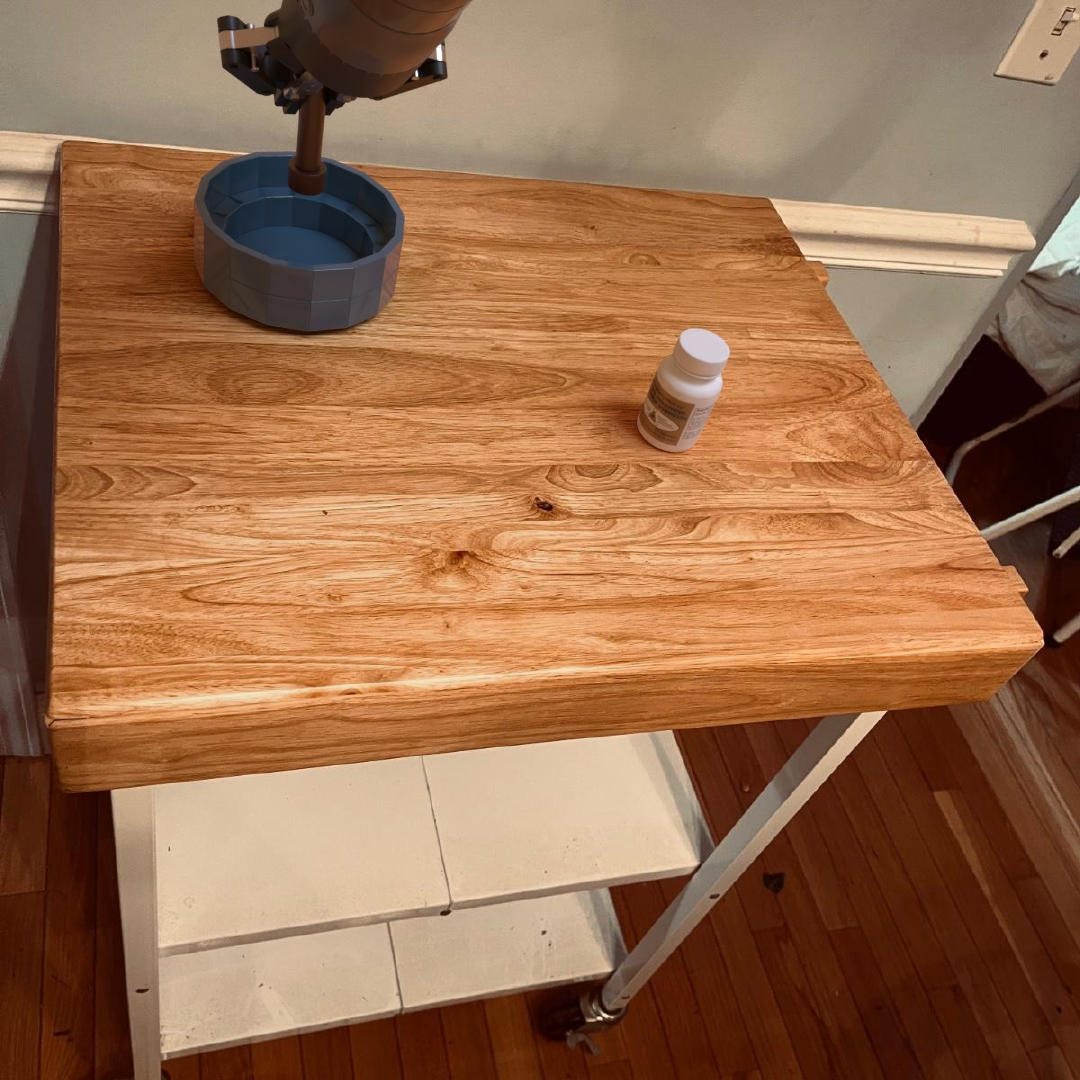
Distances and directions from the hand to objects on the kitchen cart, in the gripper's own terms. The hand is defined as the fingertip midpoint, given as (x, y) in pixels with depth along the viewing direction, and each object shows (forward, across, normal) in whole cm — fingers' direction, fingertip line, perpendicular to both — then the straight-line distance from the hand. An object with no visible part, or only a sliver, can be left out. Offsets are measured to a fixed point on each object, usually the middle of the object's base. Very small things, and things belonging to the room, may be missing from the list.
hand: (303, 98), depth 68 cm
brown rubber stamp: (+2, 0, +5) cm, 5 cm away
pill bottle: (-6, -22, +23) cm, 32 cm away
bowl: (+7, 0, +10) cm, 12 cm away
